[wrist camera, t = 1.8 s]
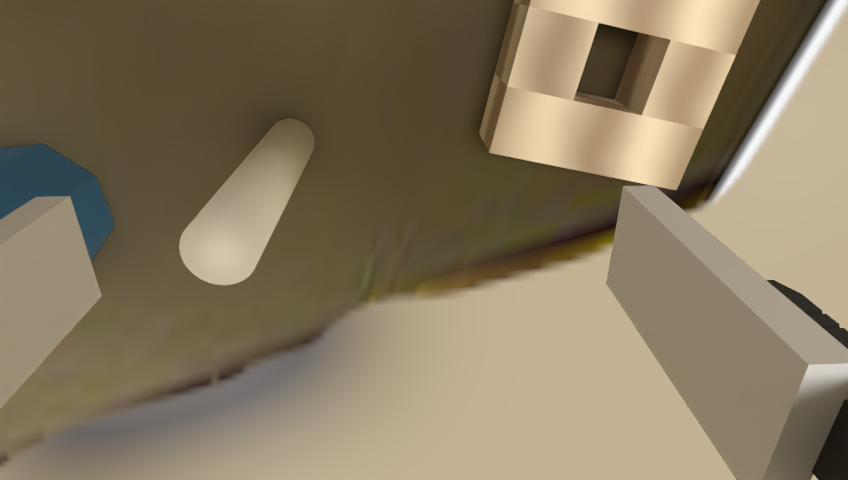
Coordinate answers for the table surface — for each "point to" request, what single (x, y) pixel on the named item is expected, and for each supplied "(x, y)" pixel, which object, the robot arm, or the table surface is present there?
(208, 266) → the long pin
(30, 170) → the water bottle
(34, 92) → the table surface
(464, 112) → the table surface
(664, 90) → the block
